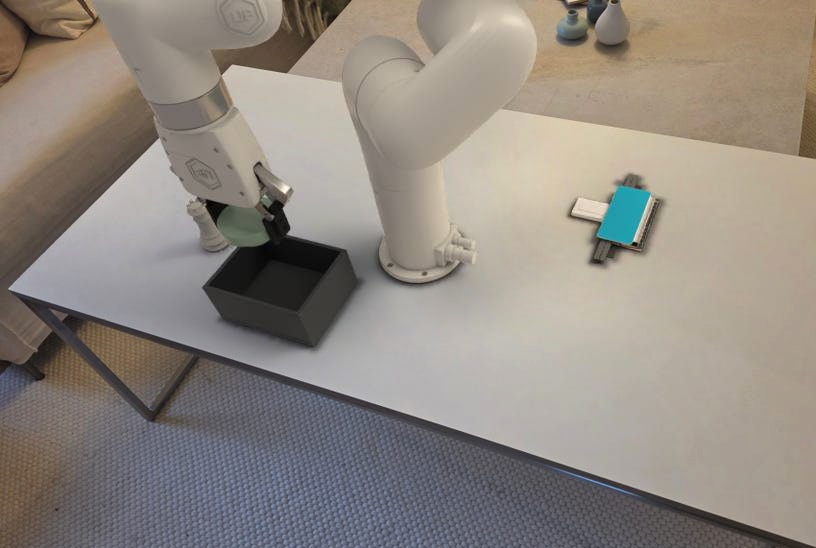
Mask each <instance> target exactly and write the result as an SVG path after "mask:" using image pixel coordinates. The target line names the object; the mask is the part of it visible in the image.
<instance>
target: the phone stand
mask: <svg viewBox="0 0 816 548" xmlns="http://www.w3.org/2000/svg"><path fill="white" fill-rule="evenodd" d="M639 177H640V175H638V174H633V173H629V174H628V176H627V179H626V181H625V183H624V184H623V185H618V186H617V188H616V189H615V192H614V194H613V197H612V199H611V201H610V204H609V203H607V202H601V201H596V200H592V199H588V198H584V197H578V198H577V200H576V202H575V204H574V206H573V209H572V210H571V216H572V217H576V218H581V219H586V220H590V221H595V222H599V223H601V225H600V227H599V229H598V231H597V233H596V237H597V238H599V239H600V241H599V243H598V245H597V249H596V251H595V254H594V256H593V260H592V262H595V263H599V264H604V263H605V261H606V258H607V257H608V258H612V259H614V258H615V256H616V253H617V250H618V247H621V248H624V249H628V250H633V251H637V252H643V249H644V246H645V243H646V240H647V239H648V235H649V233H650V230H651V227H652V224H653V222H654V219H655V216H656V213H657V211H658V209H659V205H660V202H661V201H660V199H659V198H657V194H655V195H654V196H651V195H652V192H651V191H649V190H644V189H642V188H643V186H642V185H640V184H639V185H638V184H637V182H638V179H639Z"/></svg>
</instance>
